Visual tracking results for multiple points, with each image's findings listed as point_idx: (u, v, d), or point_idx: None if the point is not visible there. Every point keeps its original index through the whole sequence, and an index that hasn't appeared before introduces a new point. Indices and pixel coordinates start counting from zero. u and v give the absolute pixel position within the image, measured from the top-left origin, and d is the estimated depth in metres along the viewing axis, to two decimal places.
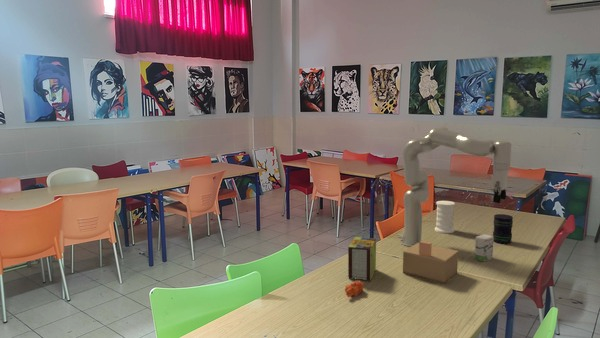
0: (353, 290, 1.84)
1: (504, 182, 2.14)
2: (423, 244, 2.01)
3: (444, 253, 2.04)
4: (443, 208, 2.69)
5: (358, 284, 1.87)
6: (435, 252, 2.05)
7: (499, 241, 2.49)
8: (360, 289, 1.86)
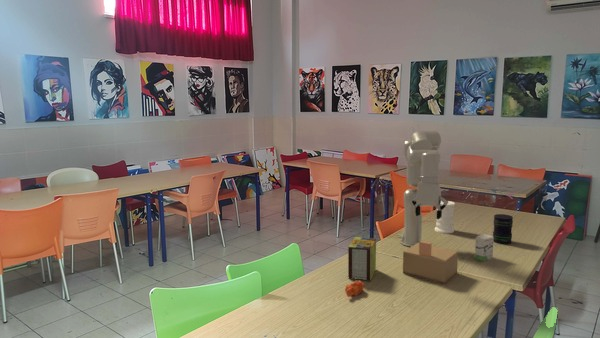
0: (353, 290, 1.85)
1: None
2: (423, 244, 2.01)
3: (444, 253, 2.04)
4: None
5: (358, 284, 1.87)
6: (435, 252, 2.05)
7: (499, 241, 2.49)
8: (360, 289, 1.87)
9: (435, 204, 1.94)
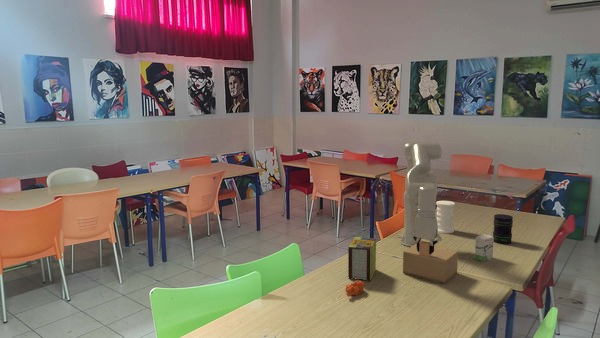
0: (353, 290, 1.85)
1: None
2: (423, 244, 2.01)
3: (444, 253, 2.04)
4: (443, 208, 2.69)
5: (358, 284, 1.87)
6: (435, 252, 2.05)
7: (499, 241, 2.49)
8: (360, 289, 1.87)
9: (432, 238, 1.96)
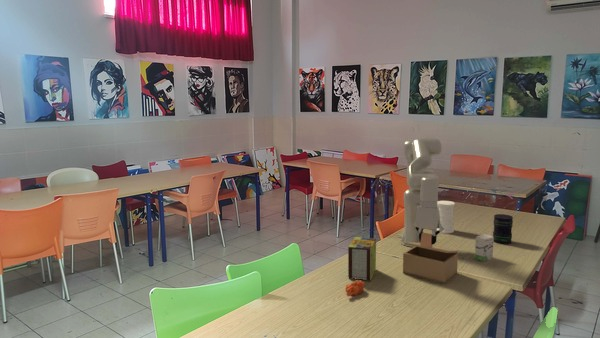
0: (353, 289, 1.85)
1: None
2: (425, 235, 2.02)
3: (445, 249, 2.04)
4: (443, 208, 2.69)
5: (358, 283, 1.87)
6: (436, 247, 2.05)
7: (499, 241, 2.49)
8: (360, 288, 1.87)
9: (434, 228, 1.97)
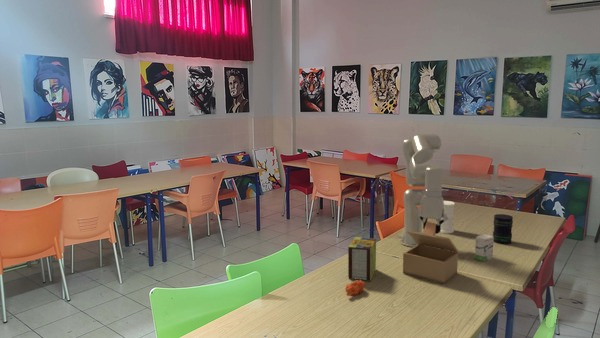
0: (353, 289, 1.85)
1: None
2: (429, 224, 2.05)
3: None
4: None
5: (358, 283, 1.87)
6: None
7: (499, 241, 2.49)
8: (360, 288, 1.87)
9: (438, 217, 2.00)
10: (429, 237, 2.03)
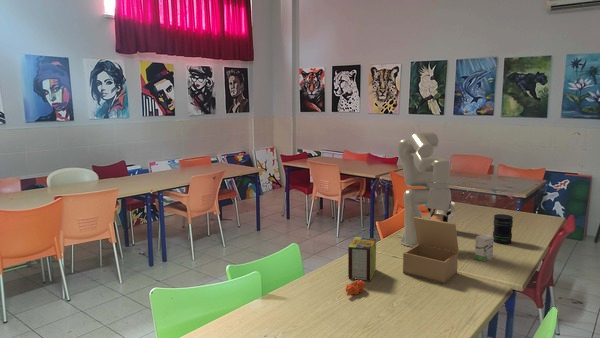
0: (353, 289, 1.86)
1: None
2: (437, 214, 2.11)
3: None
4: None
5: (359, 283, 1.88)
6: None
7: (499, 241, 2.49)
8: (361, 288, 1.87)
9: (446, 208, 2.06)
10: (435, 224, 2.07)
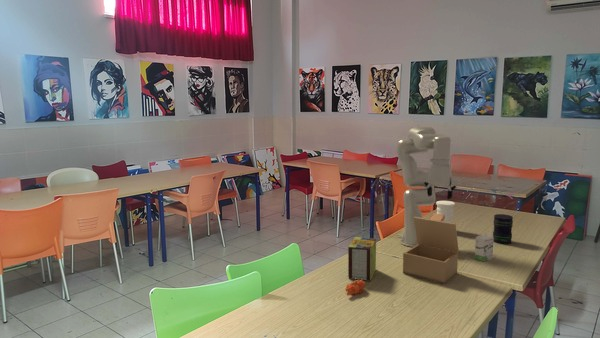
0: (353, 289, 1.86)
1: None
2: (437, 214, 2.11)
3: None
4: (443, 208, 2.69)
5: (359, 283, 1.88)
6: None
7: (499, 241, 2.49)
8: (361, 288, 1.87)
9: (446, 185, 2.07)
10: (435, 224, 2.07)
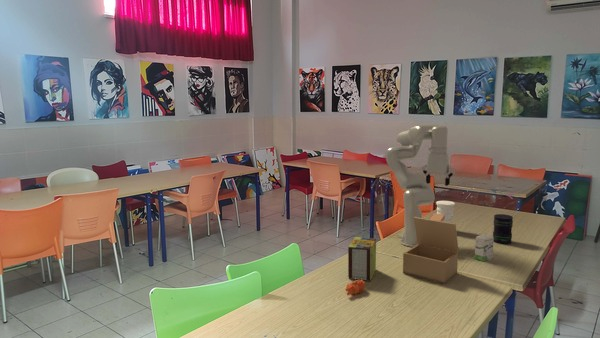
0: (353, 288, 1.86)
1: None
2: (437, 214, 2.11)
3: None
4: (443, 208, 2.69)
5: (359, 283, 1.88)
6: None
7: (499, 241, 2.49)
8: (361, 288, 1.87)
9: (444, 172, 2.19)
10: (435, 224, 2.07)
